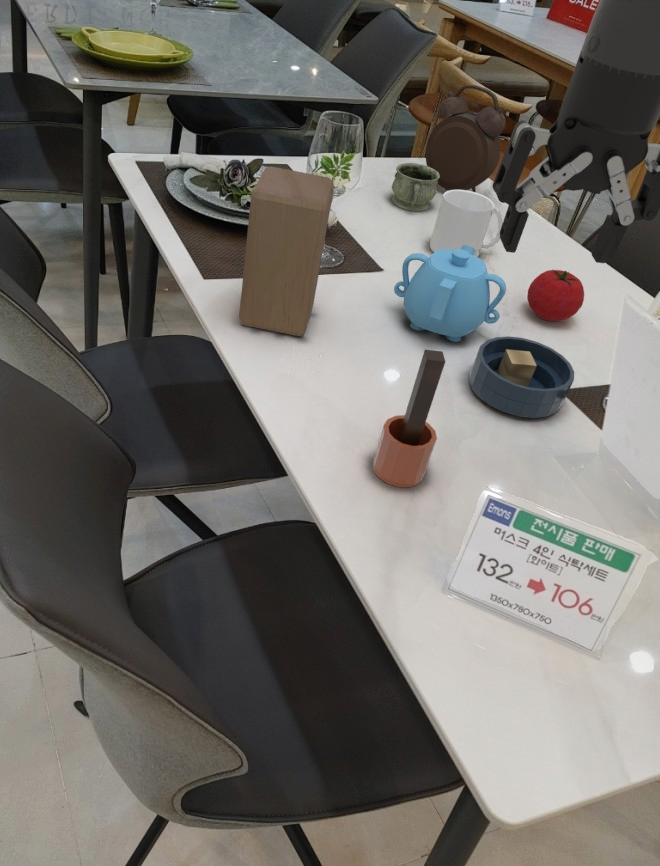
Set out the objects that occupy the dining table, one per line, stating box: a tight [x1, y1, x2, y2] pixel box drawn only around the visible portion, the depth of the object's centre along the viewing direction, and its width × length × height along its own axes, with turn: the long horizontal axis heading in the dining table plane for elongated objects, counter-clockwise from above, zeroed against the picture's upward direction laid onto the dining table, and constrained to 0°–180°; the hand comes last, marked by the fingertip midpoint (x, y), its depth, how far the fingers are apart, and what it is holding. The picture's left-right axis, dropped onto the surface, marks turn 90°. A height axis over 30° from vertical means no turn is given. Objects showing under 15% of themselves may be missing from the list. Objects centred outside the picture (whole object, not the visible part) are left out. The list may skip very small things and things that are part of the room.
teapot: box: [393, 245, 507, 343], centre depth 116 cm, size 20×17×12 cm
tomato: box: [526, 269, 585, 323], centre depth 123 cm, size 9×9×8 cm
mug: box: [429, 190, 504, 258], centre depth 136 cm, size 12×9×9 cm
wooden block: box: [238, 165, 335, 337], centre depth 108 cm, size 10×10×20 cm
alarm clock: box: [425, 84, 506, 193], centre depth 153 cm, size 15×7×20 cm, turn 50°
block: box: [498, 349, 537, 387], centre depth 109 cm, size 4×4×4 cm
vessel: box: [391, 162, 440, 212], centre depth 151 cm, size 12×9×6 cm
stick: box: [398, 349, 446, 446], centre depth 87 cm, size 2×2×16 cm
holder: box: [372, 414, 438, 488], centre depth 91 cm, size 6×6×6 cm
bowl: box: [468, 335, 575, 419], centre depth 107 cm, size 13×13×5 cm
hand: (552, 254), depth 70 cm, fingers open, 8 cm apart
